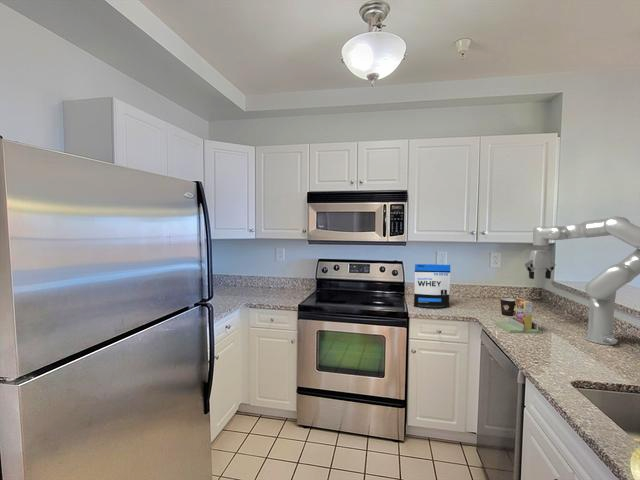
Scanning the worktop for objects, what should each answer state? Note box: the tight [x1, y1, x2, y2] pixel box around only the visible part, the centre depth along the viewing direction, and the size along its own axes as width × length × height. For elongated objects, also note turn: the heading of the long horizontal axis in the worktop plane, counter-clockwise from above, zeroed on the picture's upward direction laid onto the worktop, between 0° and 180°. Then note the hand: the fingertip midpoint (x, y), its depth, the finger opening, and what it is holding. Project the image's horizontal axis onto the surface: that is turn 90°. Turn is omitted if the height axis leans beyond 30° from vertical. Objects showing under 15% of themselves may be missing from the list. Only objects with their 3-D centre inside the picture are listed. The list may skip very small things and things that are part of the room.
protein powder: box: [413, 263, 452, 310], centre depth 230 cm, size 10×24×30 cm, turn 88°
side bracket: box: [508, 316, 539, 331], centre depth 183 cm, size 13×8×4 cm, turn 0°
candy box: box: [515, 297, 533, 330], centre depth 183 cm, size 9×4×15 cm, turn 179°
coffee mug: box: [499, 297, 516, 317], centre depth 212 cm, size 12×9×10 cm
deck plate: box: [493, 320, 543, 334], centre depth 185 cm, size 16×17×2 cm
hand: (539, 278), depth 188 cm, fingers open, 9 cm apart
